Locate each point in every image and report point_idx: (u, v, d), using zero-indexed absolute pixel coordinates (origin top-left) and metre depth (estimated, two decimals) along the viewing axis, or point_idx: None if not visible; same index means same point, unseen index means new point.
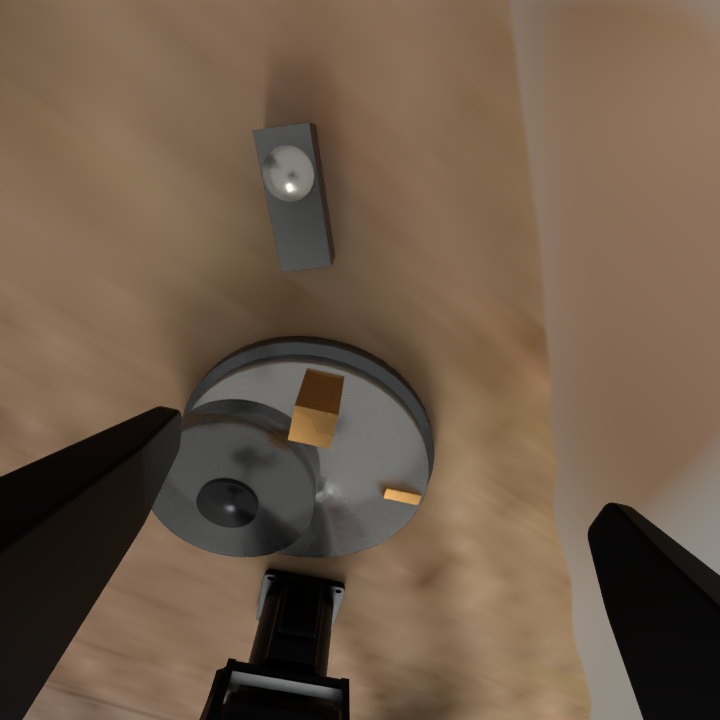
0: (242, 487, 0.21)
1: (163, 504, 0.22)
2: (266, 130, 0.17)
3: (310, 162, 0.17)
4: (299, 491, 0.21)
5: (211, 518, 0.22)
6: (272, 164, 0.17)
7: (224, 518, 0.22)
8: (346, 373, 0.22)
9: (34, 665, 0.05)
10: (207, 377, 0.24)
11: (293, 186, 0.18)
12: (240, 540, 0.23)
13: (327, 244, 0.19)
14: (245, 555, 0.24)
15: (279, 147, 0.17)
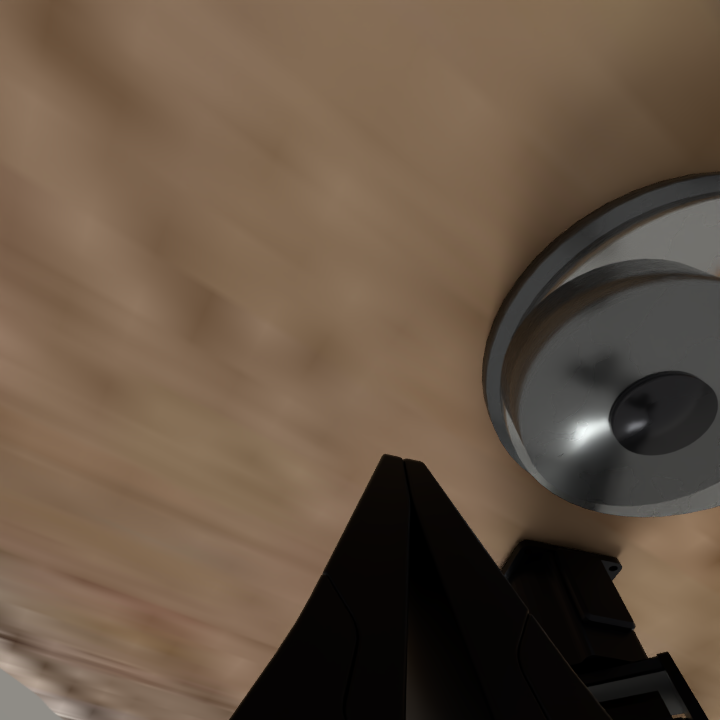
0: None
1: (545, 419, 0.14)
2: None
3: None
4: None
5: (627, 439, 0.14)
6: None
7: (648, 439, 0.14)
8: None
9: None
10: (577, 237, 0.16)
11: None
12: (635, 478, 0.15)
13: None
14: (628, 503, 0.16)
15: None
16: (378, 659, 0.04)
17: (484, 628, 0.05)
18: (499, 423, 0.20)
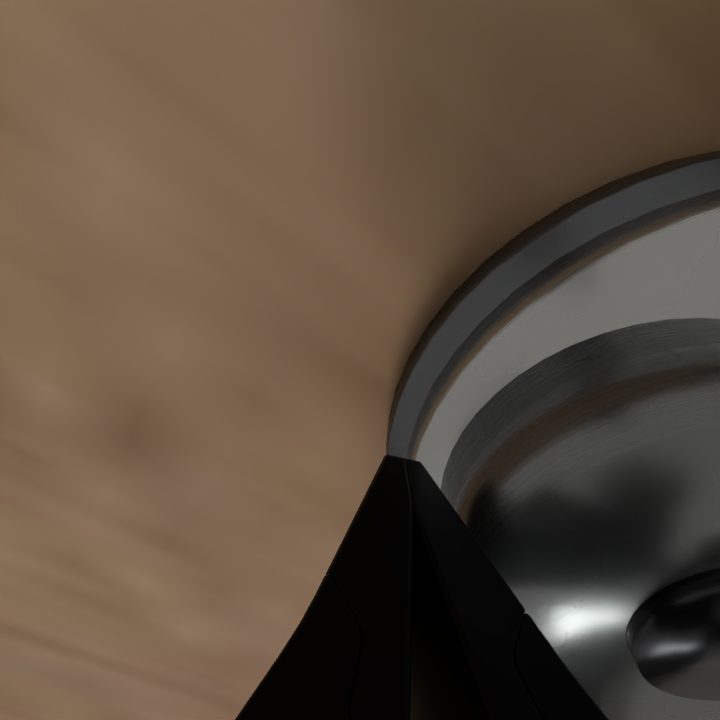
0: None
1: None
2: None
3: None
4: None
5: (662, 676, 0.07)
6: None
7: (704, 678, 0.07)
8: None
9: None
10: (517, 260, 0.09)
11: None
12: (670, 713, 0.09)
13: None
14: None
15: None
16: (382, 660, 0.04)
17: (480, 627, 0.05)
18: None
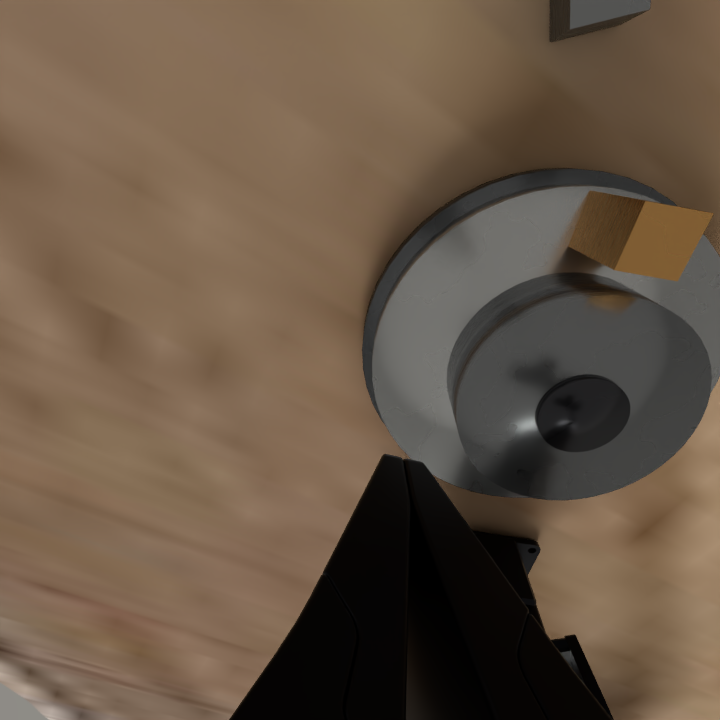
0: (616, 386, 0.15)
1: (478, 422, 0.16)
2: None
3: None
4: (693, 390, 0.15)
5: (552, 438, 0.16)
6: None
7: (572, 437, 0.15)
8: (644, 196, 0.15)
9: None
10: (413, 240, 0.17)
11: None
12: (569, 474, 0.17)
13: None
14: (567, 497, 0.17)
15: None
16: (378, 659, 0.04)
17: (484, 628, 0.05)
18: None
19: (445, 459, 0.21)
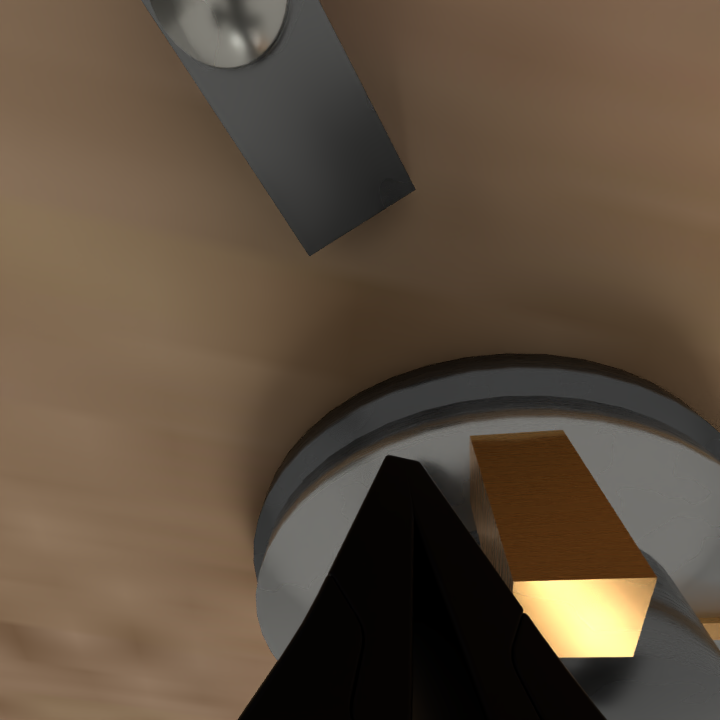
0: None
1: None
2: None
3: None
4: None
5: None
6: None
7: None
8: (563, 421, 0.09)
9: None
10: (265, 509, 0.13)
11: (242, 9, 0.06)
12: None
13: (386, 135, 0.07)
14: None
15: None
16: (384, 660, 0.04)
17: (479, 627, 0.05)
18: None
19: None
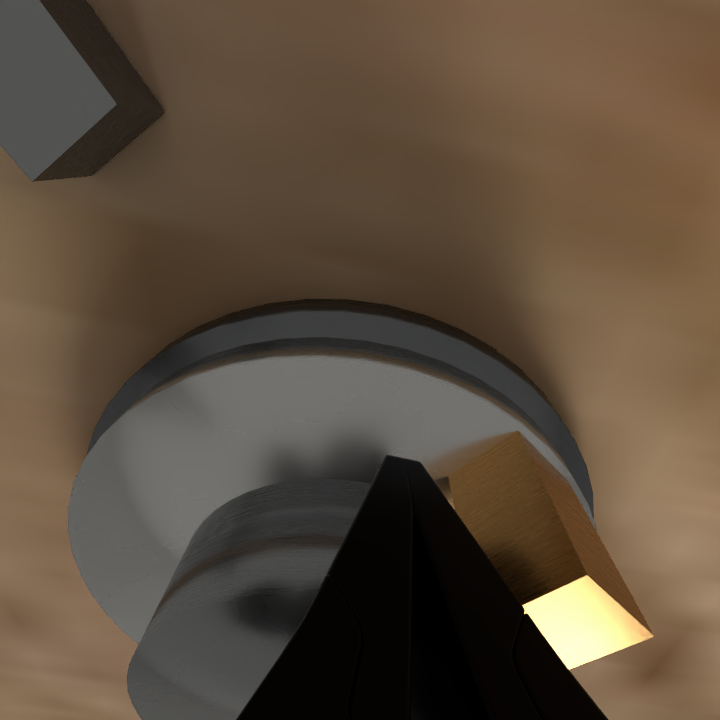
0: None
1: (166, 670, 0.09)
2: None
3: None
4: None
5: None
6: None
7: None
8: (571, 475, 0.10)
9: None
10: None
11: None
12: None
13: (72, 44, 0.07)
14: None
15: None
16: (383, 660, 0.04)
17: (480, 627, 0.05)
18: None
19: (144, 617, 0.13)
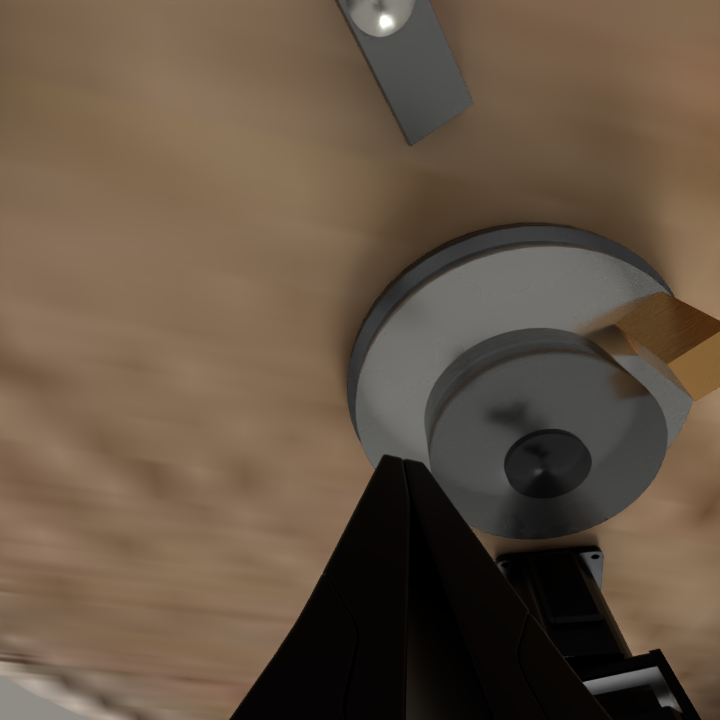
0: None
1: (465, 425, 0.16)
2: None
3: None
4: (628, 490, 0.17)
5: (513, 472, 0.16)
6: None
7: (527, 479, 0.16)
8: None
9: None
10: (360, 338, 0.19)
11: (392, 6, 0.13)
12: (495, 508, 0.18)
13: (459, 73, 0.14)
14: (478, 526, 0.18)
15: None
16: (378, 659, 0.04)
17: (485, 628, 0.05)
18: None
19: (385, 442, 0.20)
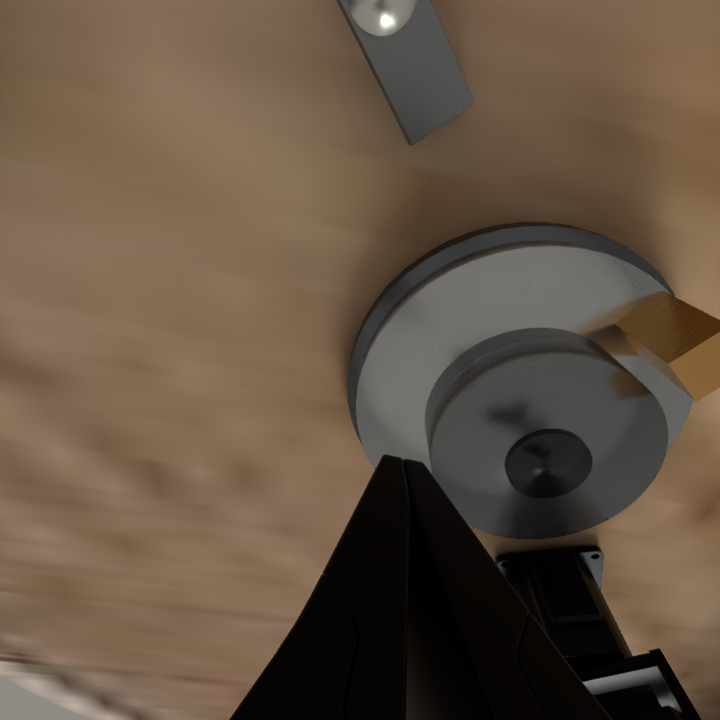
0: None
1: (466, 425, 0.16)
2: None
3: None
4: (629, 490, 0.17)
5: (514, 472, 0.16)
6: None
7: (527, 479, 0.16)
8: None
9: None
10: (360, 338, 0.19)
11: (393, 5, 0.13)
12: (496, 507, 0.18)
13: (460, 72, 0.14)
14: (478, 526, 0.18)
15: None
16: (378, 659, 0.04)
17: (484, 628, 0.05)
18: None
19: (386, 442, 0.20)
